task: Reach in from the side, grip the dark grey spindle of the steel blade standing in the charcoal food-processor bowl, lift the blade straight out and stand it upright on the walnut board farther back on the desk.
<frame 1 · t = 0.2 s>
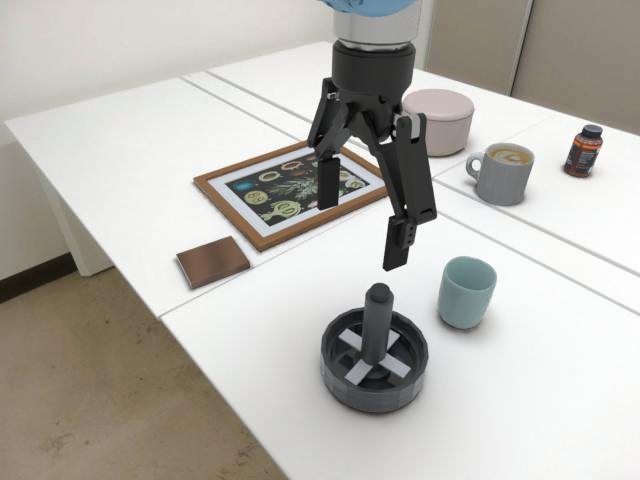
hand: (358, 234, 53), 24 cm above the table, tool pointing down, fingers open, 13 cm apart
container: (431, 143, 122), on the table
board: (213, 263, 85), on the table
processor bowl: (371, 369, 67), on the table
blade: (372, 365, 66), point 1 cm above the table, touching processor bowl
coffee mug: (491, 190, 104), on the table
wall art: (297, 186, 106), on the table
cup: (458, 318, 75), on the table
supplement bottle: (576, 172, 110), on the table
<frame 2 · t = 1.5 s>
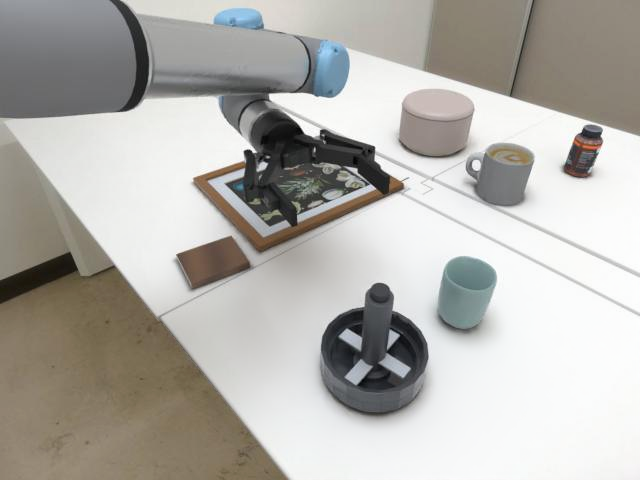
hand: (343, 201, 57), 25 cm above the table, tool horizontal, fingers open, 13 cm apart
nothing on the table moved.
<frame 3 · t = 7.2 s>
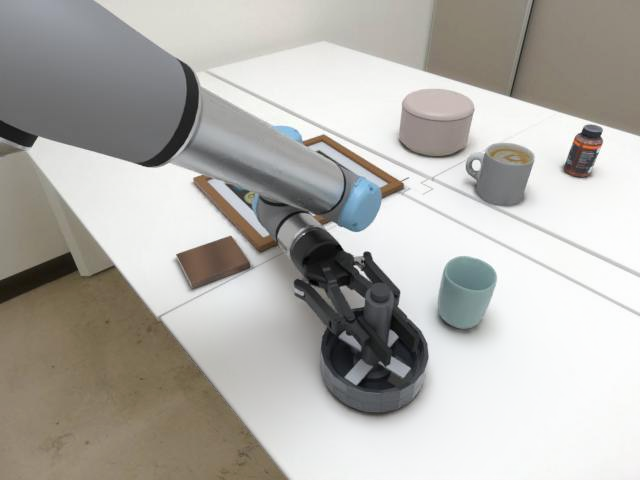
hand: (402, 351, 57), 10 cm above the table, tool horizontal, fingers closed on blade, 4 cm apart
blade: (372, 365, 66), point 1 cm above the table, touching gripper, processor bowl
everything else where it was.
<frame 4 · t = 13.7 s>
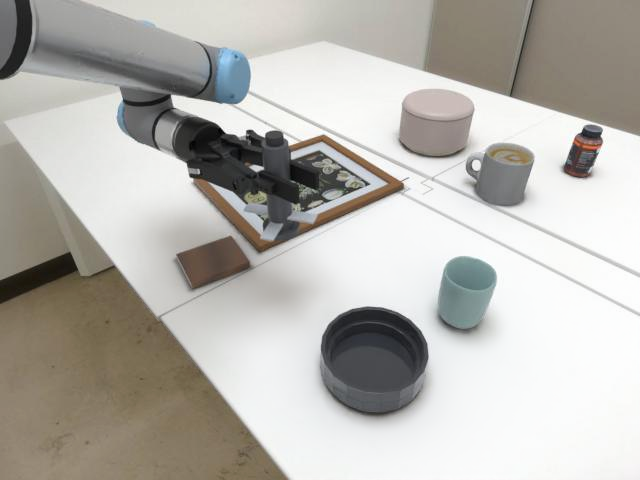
hand: (307, 187, 61), 24 cm above the table, tool horizontal, fingers closed on blade, 4 cm apart
blade: (281, 228, 70), point 14 cm above the table, touching gripper
everything else where it was.
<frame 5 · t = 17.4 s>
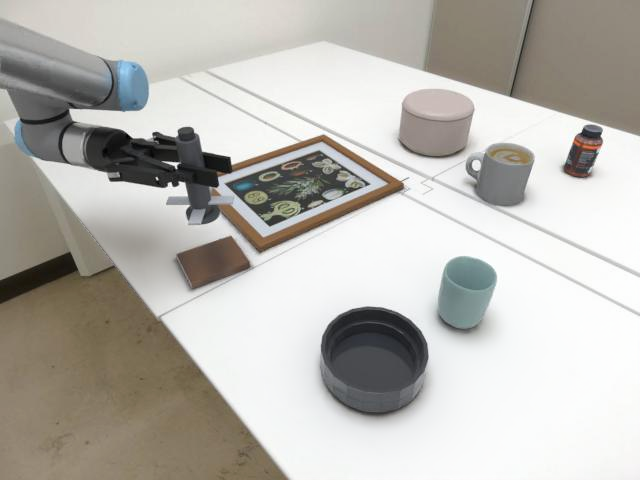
hand: (223, 172, 71), 21 cm above the table, tool horizontal, fingers closed on blade, 4 cm apart
blade: (203, 214, 78), point 11 cm above the table, touching gripper
everything else where it was.
when the fingers open (11 cm above the table, at t = 20.3 s): blade stays where it is, resting on board.
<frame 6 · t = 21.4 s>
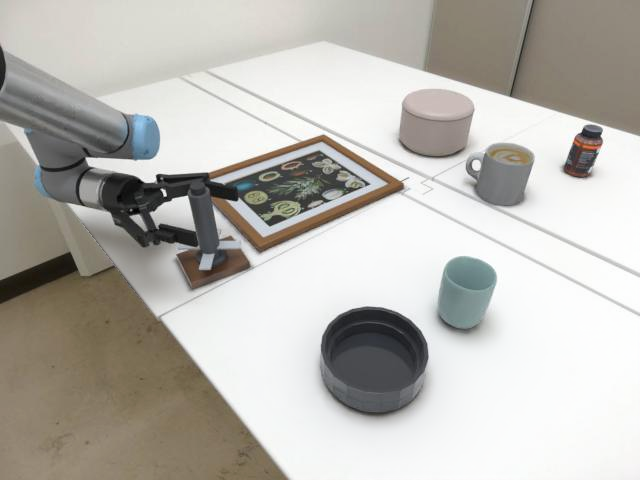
hand: (218, 215, 77), 12 cm above the table, tool horizontal, fingers open, 13 cm apart
blade: (212, 257, 84), point 1 cm above the table, touching board
everything else where it was.
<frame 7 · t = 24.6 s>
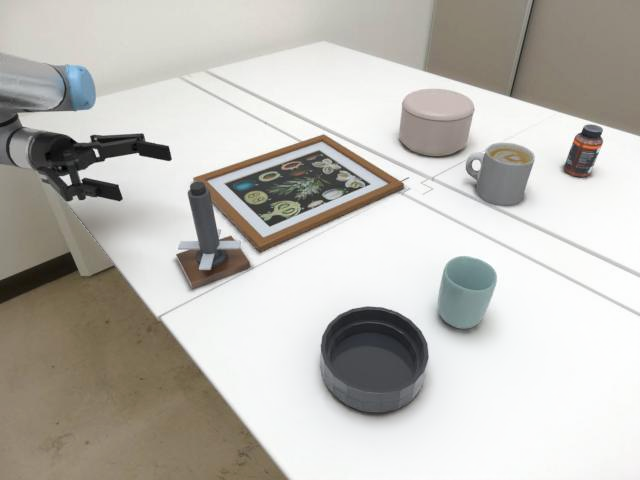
hand: (146, 172, 76), 18 cm above the table, tool horizontal, fingers open, 13 cm apart
nothing on the table moved.
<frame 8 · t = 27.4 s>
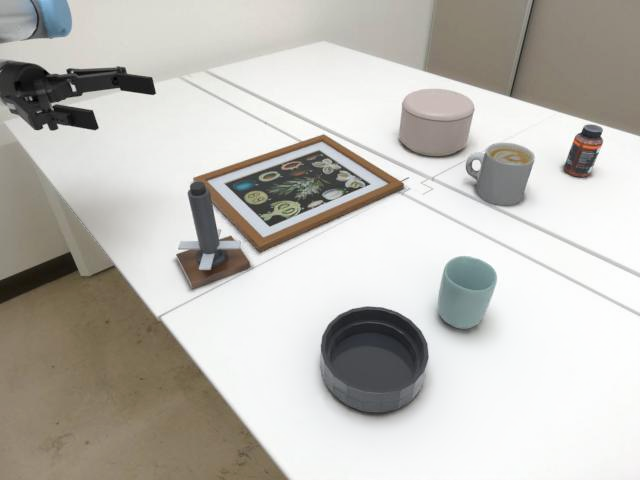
hand: (125, 102, 69), 30 cm above the table, tool horizontal, fingers open, 13 cm apart
nothing on the table moved.
at the end: blade inside the target area on the board (0.0 cm from its centre), point 1.5 cm above the board's base; blade tilted 0°; blade moved 36.1 cm from its start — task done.
